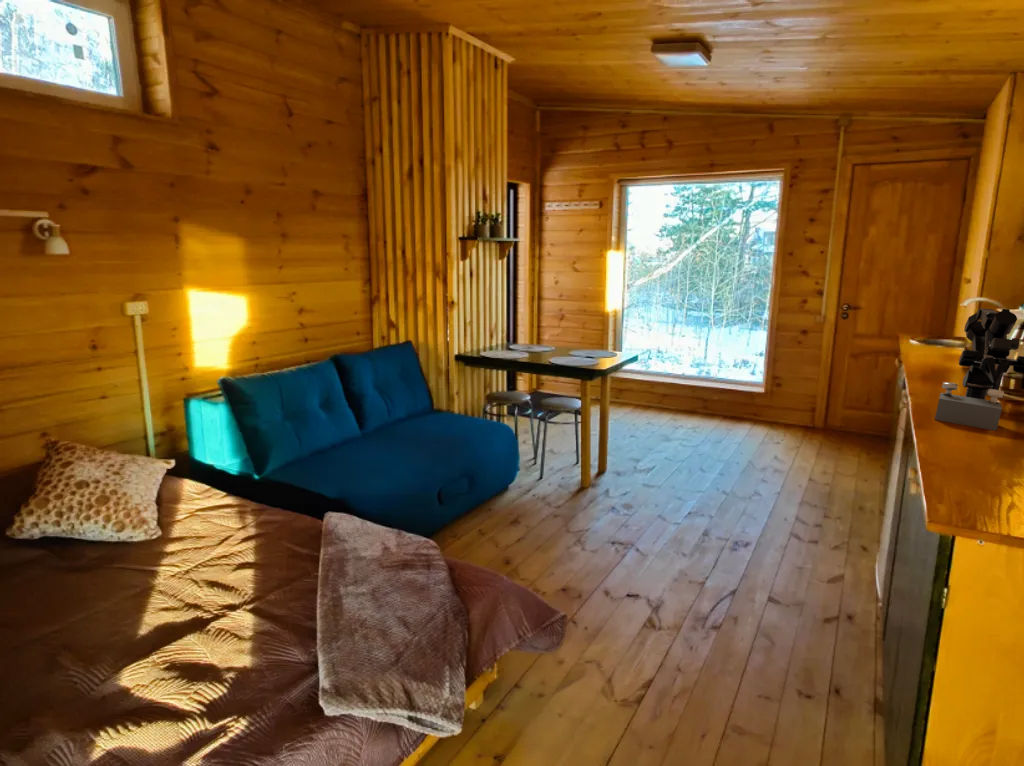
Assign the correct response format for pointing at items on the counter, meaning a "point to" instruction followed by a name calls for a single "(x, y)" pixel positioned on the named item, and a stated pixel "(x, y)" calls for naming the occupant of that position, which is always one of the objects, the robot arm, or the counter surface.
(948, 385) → the grey knob
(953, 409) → the console
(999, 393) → the cream knob
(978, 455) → the counter surface
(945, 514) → the counter surface
